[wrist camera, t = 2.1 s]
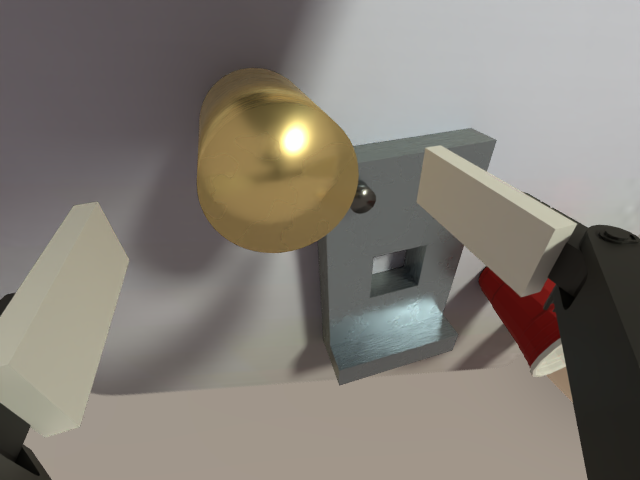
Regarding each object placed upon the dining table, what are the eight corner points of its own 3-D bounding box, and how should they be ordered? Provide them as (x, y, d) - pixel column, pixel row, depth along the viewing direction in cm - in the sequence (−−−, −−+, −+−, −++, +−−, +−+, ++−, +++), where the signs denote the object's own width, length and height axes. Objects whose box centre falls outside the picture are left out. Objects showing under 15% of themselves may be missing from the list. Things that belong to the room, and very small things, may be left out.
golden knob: (186, 66, 19) (172, 116, 10) (298, 56, 20) (361, 93, 12) (214, 172, 23) (219, 266, 15) (305, 158, 24) (356, 237, 16)
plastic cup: (476, 312, 45) (545, 390, 36) (448, 281, 39) (523, 367, 30) (543, 264, 43) (635, 335, 34) (524, 223, 36) (632, 297, 27)
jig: (312, 152, 24) (338, 188, 19) (471, 128, 27) (526, 154, 22) (323, 339, 39) (339, 385, 34) (424, 311, 41) (452, 350, 37)
